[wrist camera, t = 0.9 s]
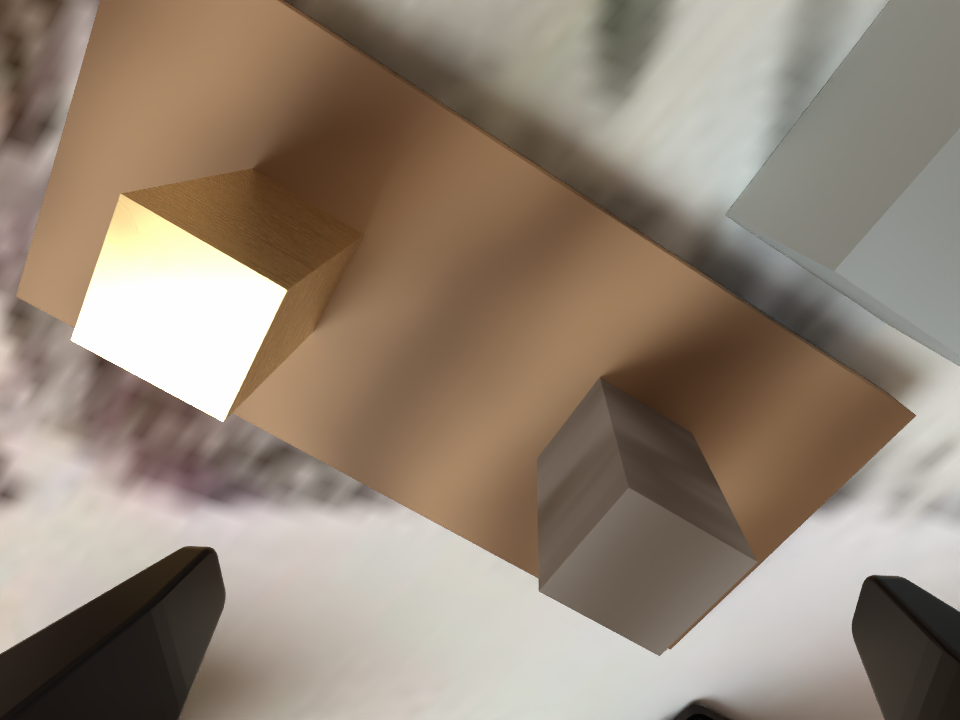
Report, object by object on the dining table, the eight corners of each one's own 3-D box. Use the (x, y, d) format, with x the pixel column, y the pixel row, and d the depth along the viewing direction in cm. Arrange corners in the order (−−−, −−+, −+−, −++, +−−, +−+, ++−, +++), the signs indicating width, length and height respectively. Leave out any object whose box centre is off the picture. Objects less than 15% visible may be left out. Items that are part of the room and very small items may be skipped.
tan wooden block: (363, 234, 18) (287, 290, 12) (313, 331, 19) (222, 422, 13) (253, 168, 17) (120, 193, 12) (209, 272, 18) (71, 340, 13)
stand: (889, 394, 20) (1082, 545, 13) (662, 618, 24) (715, 821, 17) (161, -79, 16) (-110, -223, 9) (50, 284, 21) (-193, 369, 14)
